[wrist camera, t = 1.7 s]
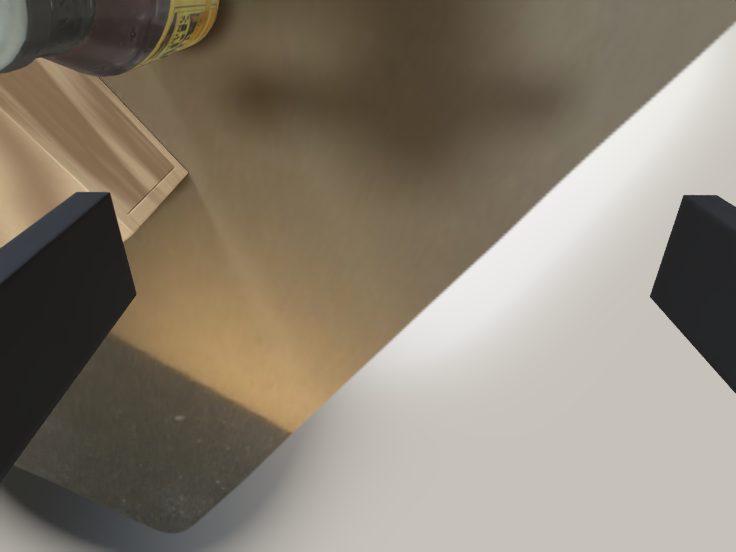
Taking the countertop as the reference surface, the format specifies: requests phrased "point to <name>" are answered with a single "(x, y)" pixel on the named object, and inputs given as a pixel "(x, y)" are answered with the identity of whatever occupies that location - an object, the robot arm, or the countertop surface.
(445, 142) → the countertop surface
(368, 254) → the countertop surface
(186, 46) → the sauce bottle
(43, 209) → the cabinet
